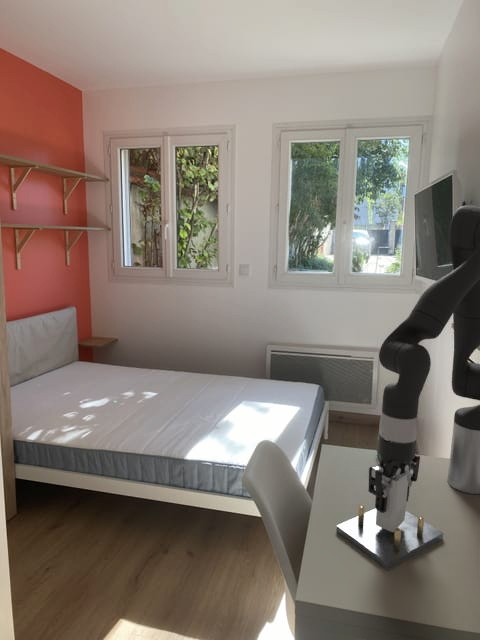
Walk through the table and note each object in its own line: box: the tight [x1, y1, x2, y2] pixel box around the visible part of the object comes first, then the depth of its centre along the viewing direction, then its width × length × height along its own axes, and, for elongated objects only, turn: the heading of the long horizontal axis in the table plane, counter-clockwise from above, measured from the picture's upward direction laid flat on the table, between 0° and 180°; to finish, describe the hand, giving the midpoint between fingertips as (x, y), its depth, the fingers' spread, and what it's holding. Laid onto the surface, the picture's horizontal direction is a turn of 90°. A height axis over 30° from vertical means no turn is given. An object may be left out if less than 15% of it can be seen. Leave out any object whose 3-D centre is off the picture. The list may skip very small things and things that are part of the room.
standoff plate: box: [336, 505, 444, 571], centre depth 99 cm, size 18×14×6 cm
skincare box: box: [376, 473, 408, 532], centre depth 98 cm, size 6×4×12 cm
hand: (391, 505), depth 98 cm, fingers closed on skincare box, 6 cm apart
